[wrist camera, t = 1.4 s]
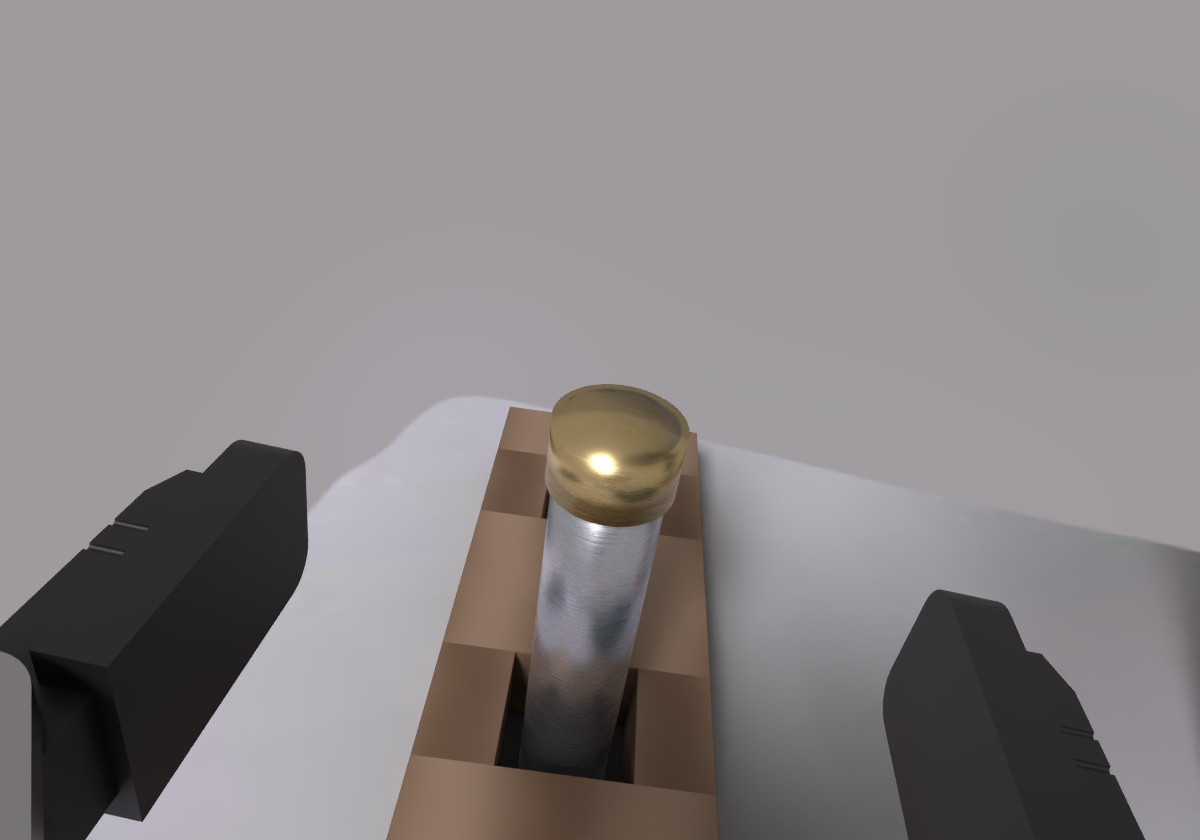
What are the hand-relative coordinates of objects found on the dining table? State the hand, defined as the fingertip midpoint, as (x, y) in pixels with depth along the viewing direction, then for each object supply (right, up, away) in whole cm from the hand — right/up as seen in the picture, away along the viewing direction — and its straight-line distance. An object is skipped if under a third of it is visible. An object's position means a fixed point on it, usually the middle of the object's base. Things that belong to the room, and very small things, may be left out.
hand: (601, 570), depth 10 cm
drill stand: (-1, -8, +25) cm, 26 cm away
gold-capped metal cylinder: (-1, -11, +20) cm, 23 cm away
